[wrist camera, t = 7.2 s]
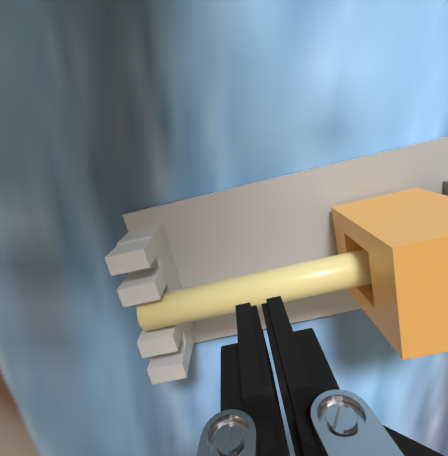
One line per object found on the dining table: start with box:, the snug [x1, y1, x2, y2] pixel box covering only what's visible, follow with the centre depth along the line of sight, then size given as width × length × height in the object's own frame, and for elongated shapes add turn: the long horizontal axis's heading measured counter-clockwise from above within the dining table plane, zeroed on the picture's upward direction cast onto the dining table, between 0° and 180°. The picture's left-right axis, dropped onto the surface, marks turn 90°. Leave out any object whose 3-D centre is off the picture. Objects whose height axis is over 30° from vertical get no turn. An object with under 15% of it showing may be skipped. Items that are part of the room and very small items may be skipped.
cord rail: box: [105, 136, 448, 385], centre depth 17 cm, size 10×22×6 cm, turn 104°
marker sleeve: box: [331, 188, 448, 360], centre depth 15 cm, size 5×5×7 cm
